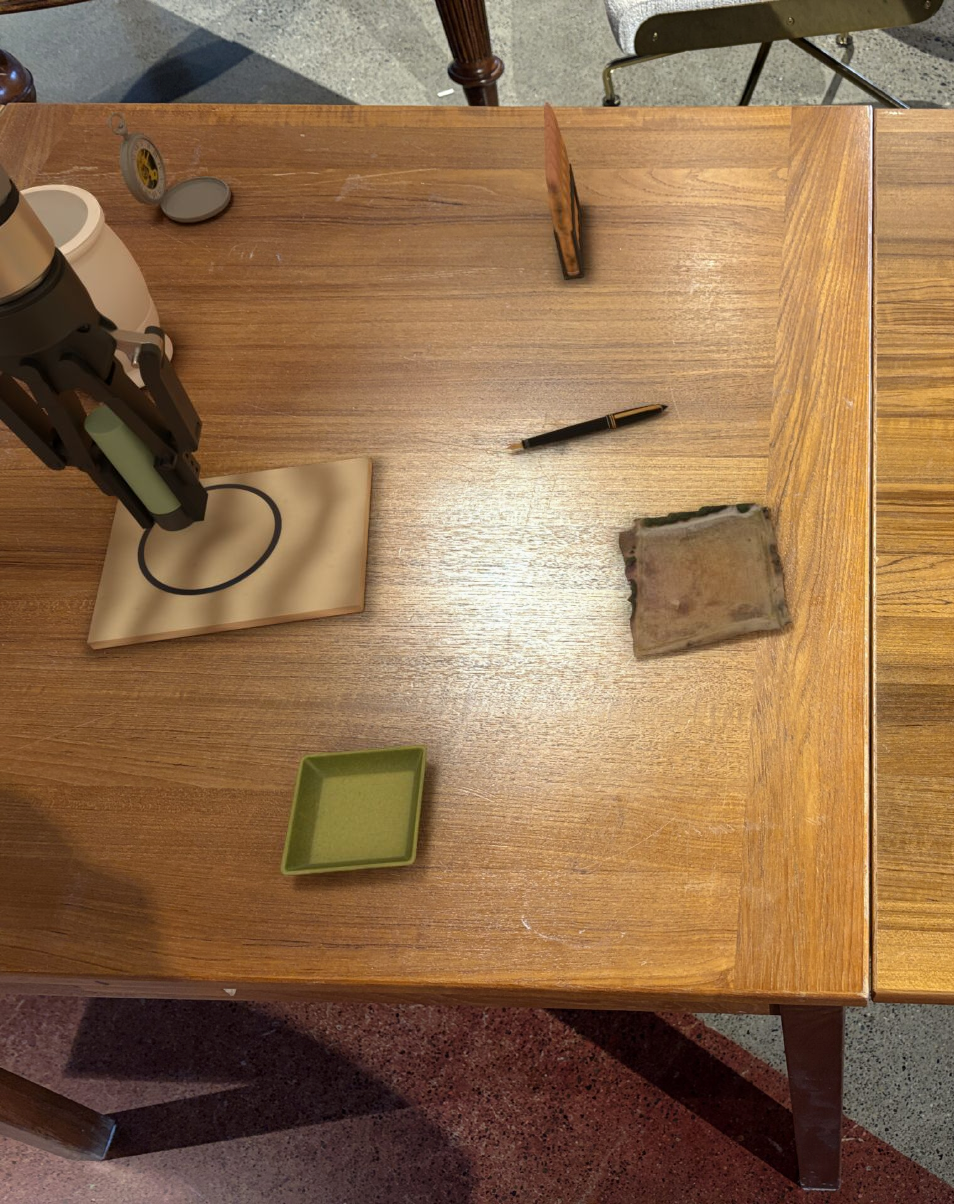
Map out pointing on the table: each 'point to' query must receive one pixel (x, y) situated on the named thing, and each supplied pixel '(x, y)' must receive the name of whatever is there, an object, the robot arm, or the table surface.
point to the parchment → (702, 577)
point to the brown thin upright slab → (563, 199)
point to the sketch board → (240, 557)
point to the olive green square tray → (355, 810)
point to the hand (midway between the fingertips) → (175, 511)
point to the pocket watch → (182, 199)
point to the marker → (136, 468)
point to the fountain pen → (592, 426)
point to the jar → (97, 260)
